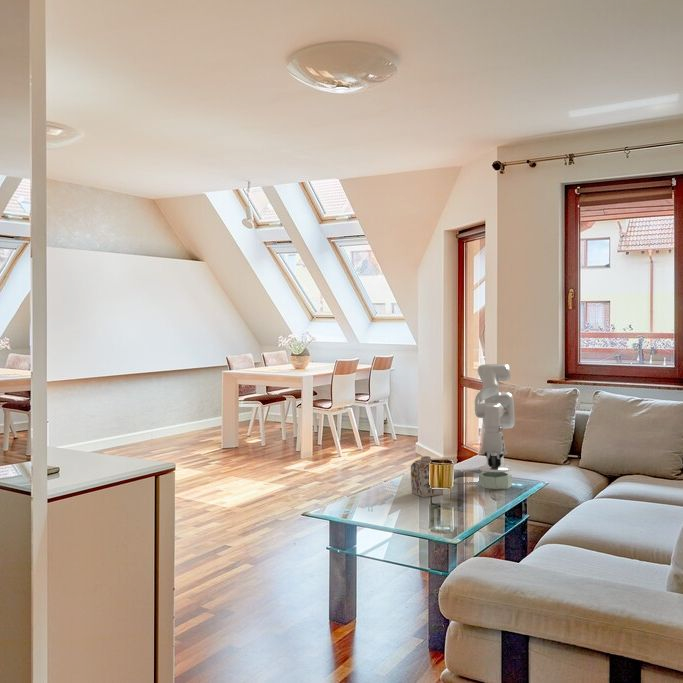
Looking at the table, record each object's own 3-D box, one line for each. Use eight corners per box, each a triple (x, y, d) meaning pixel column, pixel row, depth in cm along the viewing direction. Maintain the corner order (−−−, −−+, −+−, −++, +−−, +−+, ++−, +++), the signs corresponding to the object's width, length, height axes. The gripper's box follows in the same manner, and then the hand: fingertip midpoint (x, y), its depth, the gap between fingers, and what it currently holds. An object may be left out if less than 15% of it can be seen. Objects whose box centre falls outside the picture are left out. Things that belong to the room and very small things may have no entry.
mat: (459, 476, 364) (459, 475, 364) (489, 479, 355) (489, 477, 355) (446, 483, 350) (446, 482, 350) (477, 486, 340) (477, 484, 340)
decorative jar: (432, 489, 337) (430, 453, 337) (444, 494, 327) (442, 457, 326) (410, 493, 333) (409, 456, 333) (422, 497, 322) (420, 460, 322)
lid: (485, 465, 348) (484, 452, 348) (515, 467, 340) (514, 453, 340) (474, 471, 335) (473, 457, 335) (504, 473, 327) (503, 459, 327)
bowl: (486, 482, 348) (486, 470, 348) (514, 484, 340) (514, 472, 340) (475, 488, 336) (475, 476, 336) (504, 490, 328) (504, 478, 328)
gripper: (511, 429, 336) (513, 466, 336) (480, 428, 345) (481, 464, 345) (506, 431, 330) (508, 469, 330) (474, 430, 339) (476, 466, 339)
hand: (494, 466), depth 338 cm, fingers closed on lid, 3 cm apart
